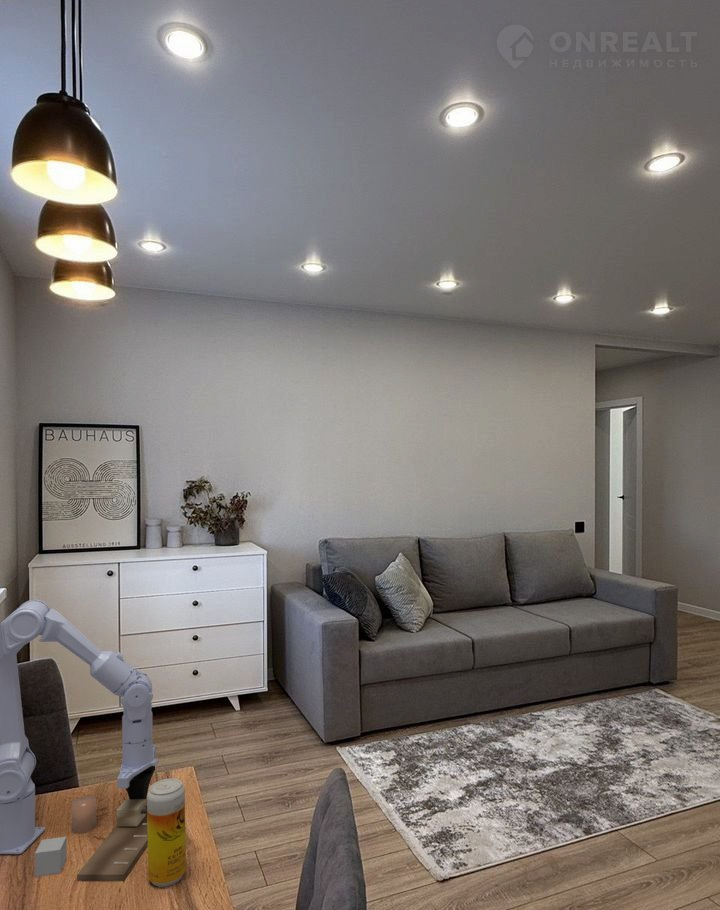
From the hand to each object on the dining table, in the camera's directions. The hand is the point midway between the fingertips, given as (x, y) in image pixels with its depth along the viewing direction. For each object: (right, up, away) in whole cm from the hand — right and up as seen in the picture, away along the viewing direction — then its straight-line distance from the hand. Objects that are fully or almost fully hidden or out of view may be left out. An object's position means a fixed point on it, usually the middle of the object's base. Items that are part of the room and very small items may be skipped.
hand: (138, 807), depth 121 cm
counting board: (+1, -2, -8) cm, 8 cm away
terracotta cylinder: (-10, -2, -3) cm, 10 cm away
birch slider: (+1, 0, -3) cm, 3 cm away
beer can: (+12, -1, -19) cm, 22 cm away
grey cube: (-10, -2, -15) cm, 18 cm away
